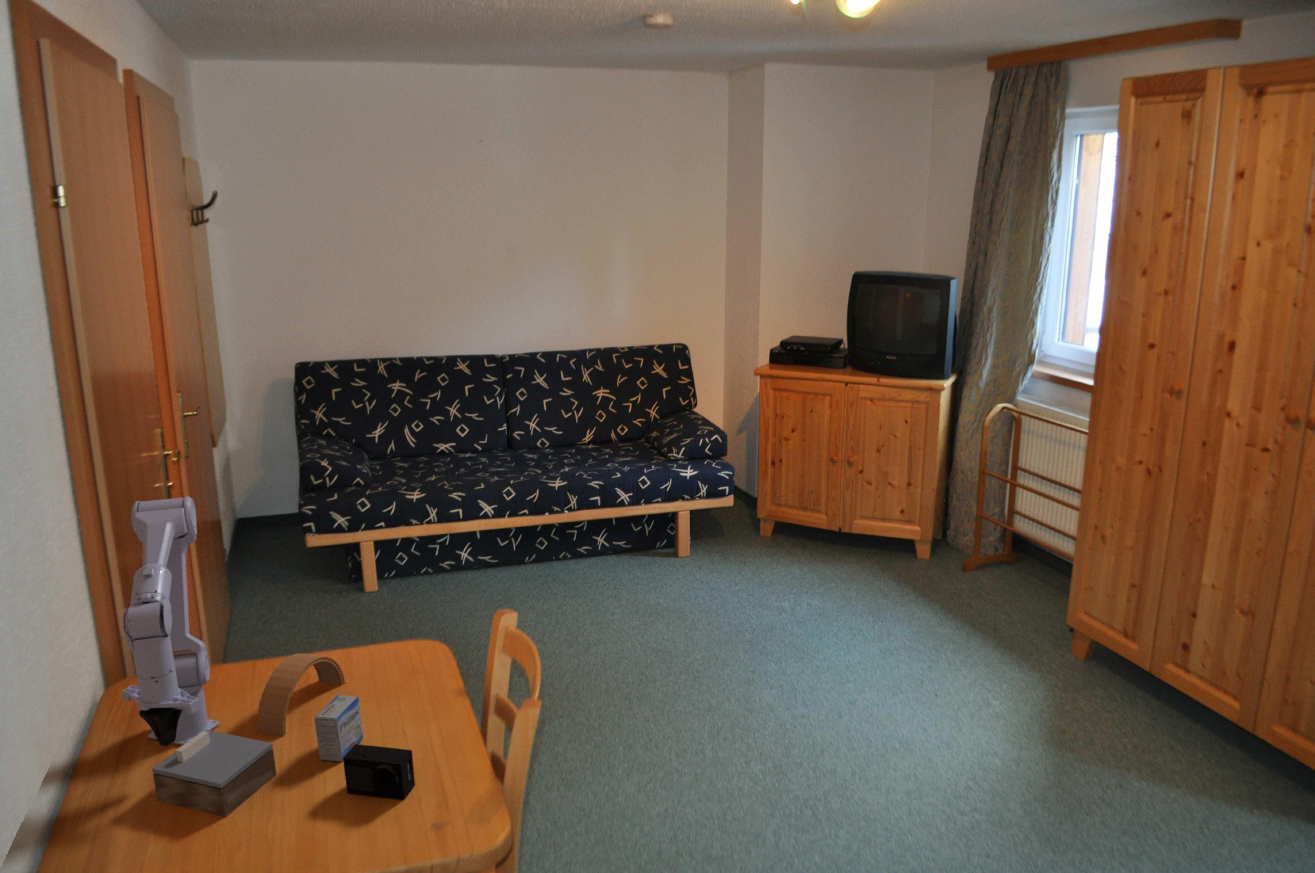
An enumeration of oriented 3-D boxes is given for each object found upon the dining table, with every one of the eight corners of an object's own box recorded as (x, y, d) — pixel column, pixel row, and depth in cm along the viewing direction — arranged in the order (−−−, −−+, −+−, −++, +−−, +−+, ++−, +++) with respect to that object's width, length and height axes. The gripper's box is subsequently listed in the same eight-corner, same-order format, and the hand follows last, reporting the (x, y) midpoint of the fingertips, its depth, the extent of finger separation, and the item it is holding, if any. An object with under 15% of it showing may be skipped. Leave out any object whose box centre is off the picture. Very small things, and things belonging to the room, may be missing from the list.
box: (157, 800, 161) (152, 774, 159) (211, 760, 172) (207, 735, 170) (225, 816, 156) (221, 789, 155) (276, 774, 167) (273, 748, 166)
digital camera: (342, 798, 161) (338, 761, 159) (358, 779, 166) (354, 742, 164) (400, 805, 159) (397, 768, 157) (415, 785, 164) (411, 749, 162)
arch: (256, 732, 180) (250, 684, 178) (321, 680, 199) (316, 635, 196) (283, 737, 179) (277, 688, 176) (346, 683, 197) (341, 639, 194)
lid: (152, 772, 159) (150, 757, 158) (207, 733, 170) (205, 719, 169) (221, 788, 155) (219, 772, 154) (272, 747, 166) (270, 732, 165)
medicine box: (342, 762, 170) (337, 719, 168) (318, 760, 171) (313, 716, 169) (363, 738, 178) (359, 695, 175) (341, 735, 179) (336, 693, 176)
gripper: (102, 675, 160) (115, 748, 164) (171, 688, 156) (183, 763, 159) (137, 655, 167) (149, 726, 170) (204, 668, 162) (215, 740, 166)
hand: (168, 742), depth 165 cm, fingers closed
